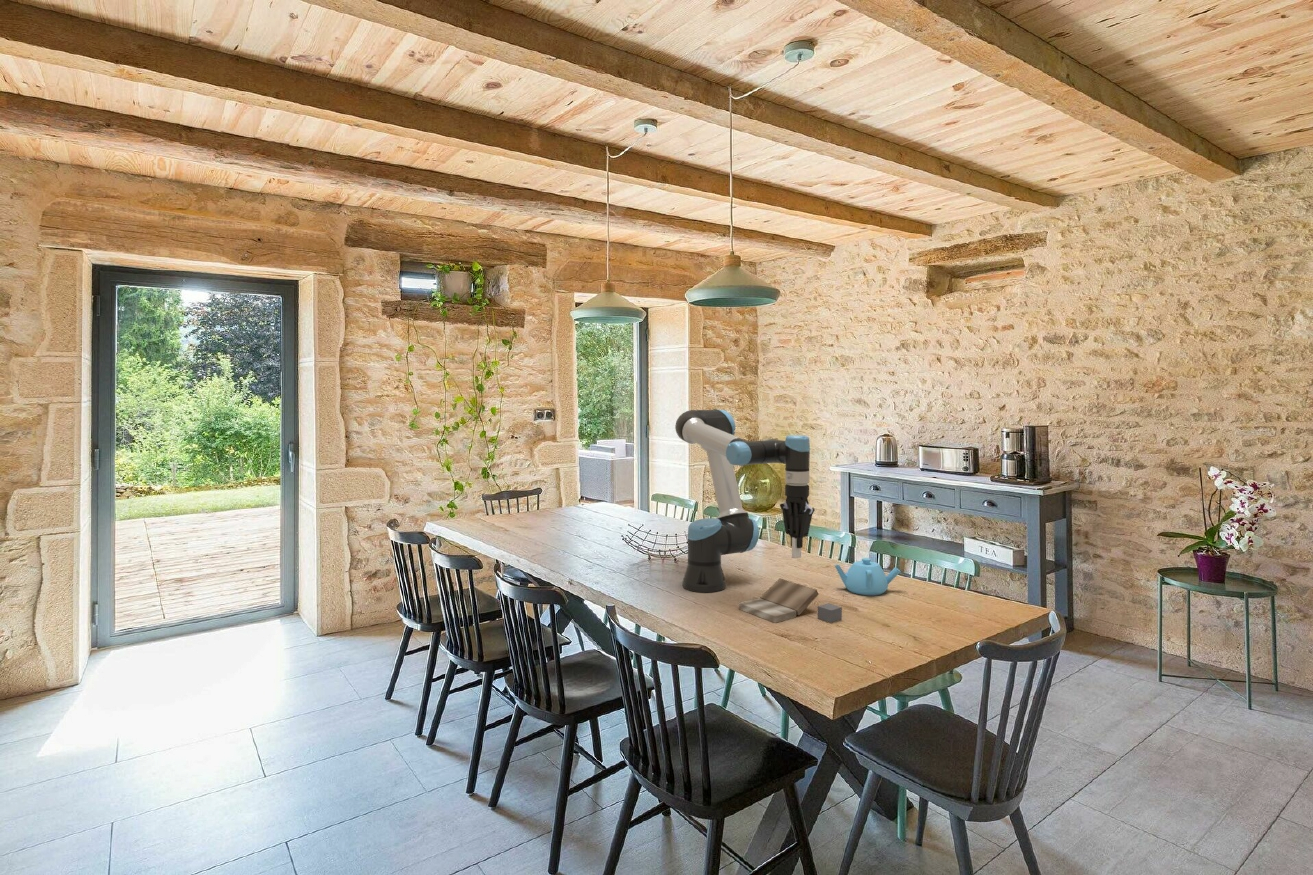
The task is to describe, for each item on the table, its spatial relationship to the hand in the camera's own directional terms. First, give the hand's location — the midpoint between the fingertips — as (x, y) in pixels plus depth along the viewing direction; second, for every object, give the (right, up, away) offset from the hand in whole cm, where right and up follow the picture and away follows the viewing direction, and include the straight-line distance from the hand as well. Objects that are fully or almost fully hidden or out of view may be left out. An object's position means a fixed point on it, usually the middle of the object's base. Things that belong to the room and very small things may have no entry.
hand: (796, 557), depth 223 cm
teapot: (+28, -15, +19) cm, 37 cm away
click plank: (-2, -13, 0) cm, 13 cm away
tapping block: (+8, -17, -12) cm, 22 cm away
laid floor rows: (-10, -16, -6) cm, 20 cm away
